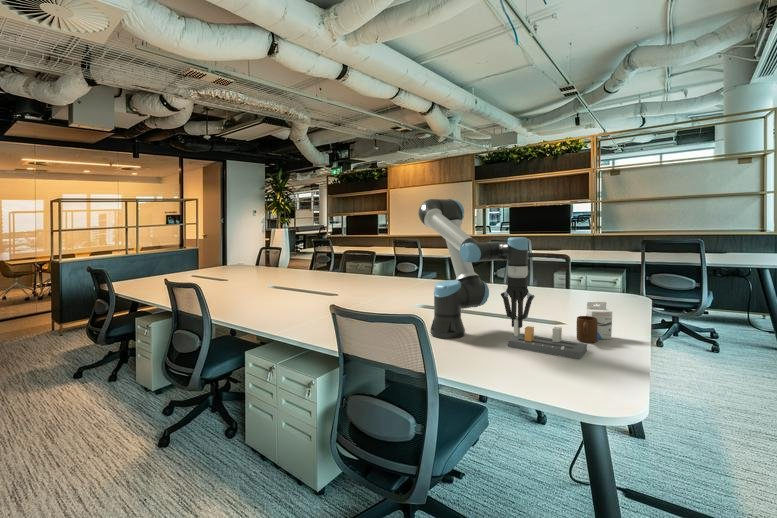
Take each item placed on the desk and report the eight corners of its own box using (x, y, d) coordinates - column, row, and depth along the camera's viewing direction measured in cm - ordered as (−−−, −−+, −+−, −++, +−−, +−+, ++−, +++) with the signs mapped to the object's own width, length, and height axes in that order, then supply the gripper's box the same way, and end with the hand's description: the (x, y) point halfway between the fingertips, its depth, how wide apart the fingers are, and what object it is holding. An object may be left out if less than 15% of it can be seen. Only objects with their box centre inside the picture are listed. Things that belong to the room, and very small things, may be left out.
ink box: (591, 339, 159) (592, 303, 158) (585, 335, 164) (586, 301, 163) (612, 339, 158) (613, 303, 157) (605, 335, 163) (606, 301, 162)
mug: (596, 347, 148) (596, 323, 148) (574, 344, 152) (574, 321, 151) (597, 338, 159) (598, 316, 158) (577, 336, 163) (577, 314, 162)
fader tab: (524, 340, 149) (524, 328, 149) (527, 338, 152) (527, 326, 152) (530, 341, 148) (531, 328, 148) (533, 339, 151) (533, 326, 150)
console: (507, 346, 151) (507, 338, 151) (518, 339, 161) (518, 331, 161) (579, 359, 136) (580, 350, 135) (586, 350, 145) (587, 342, 145)
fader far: (552, 341, 148) (552, 328, 147) (554, 339, 151) (555, 326, 150) (559, 342, 146) (559, 329, 146) (561, 340, 149) (561, 327, 149)
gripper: (497, 276, 152) (497, 334, 154) (531, 278, 144) (530, 340, 146) (504, 274, 158) (504, 330, 160) (537, 276, 150) (536, 335, 152)
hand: (516, 335), depth 153 cm, fingers closed
